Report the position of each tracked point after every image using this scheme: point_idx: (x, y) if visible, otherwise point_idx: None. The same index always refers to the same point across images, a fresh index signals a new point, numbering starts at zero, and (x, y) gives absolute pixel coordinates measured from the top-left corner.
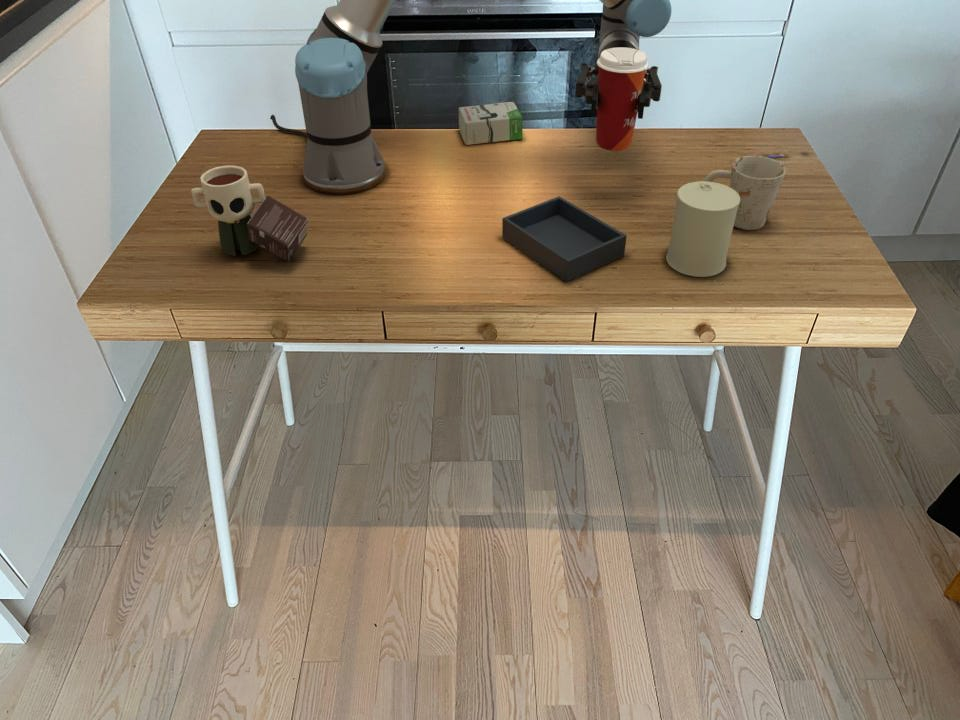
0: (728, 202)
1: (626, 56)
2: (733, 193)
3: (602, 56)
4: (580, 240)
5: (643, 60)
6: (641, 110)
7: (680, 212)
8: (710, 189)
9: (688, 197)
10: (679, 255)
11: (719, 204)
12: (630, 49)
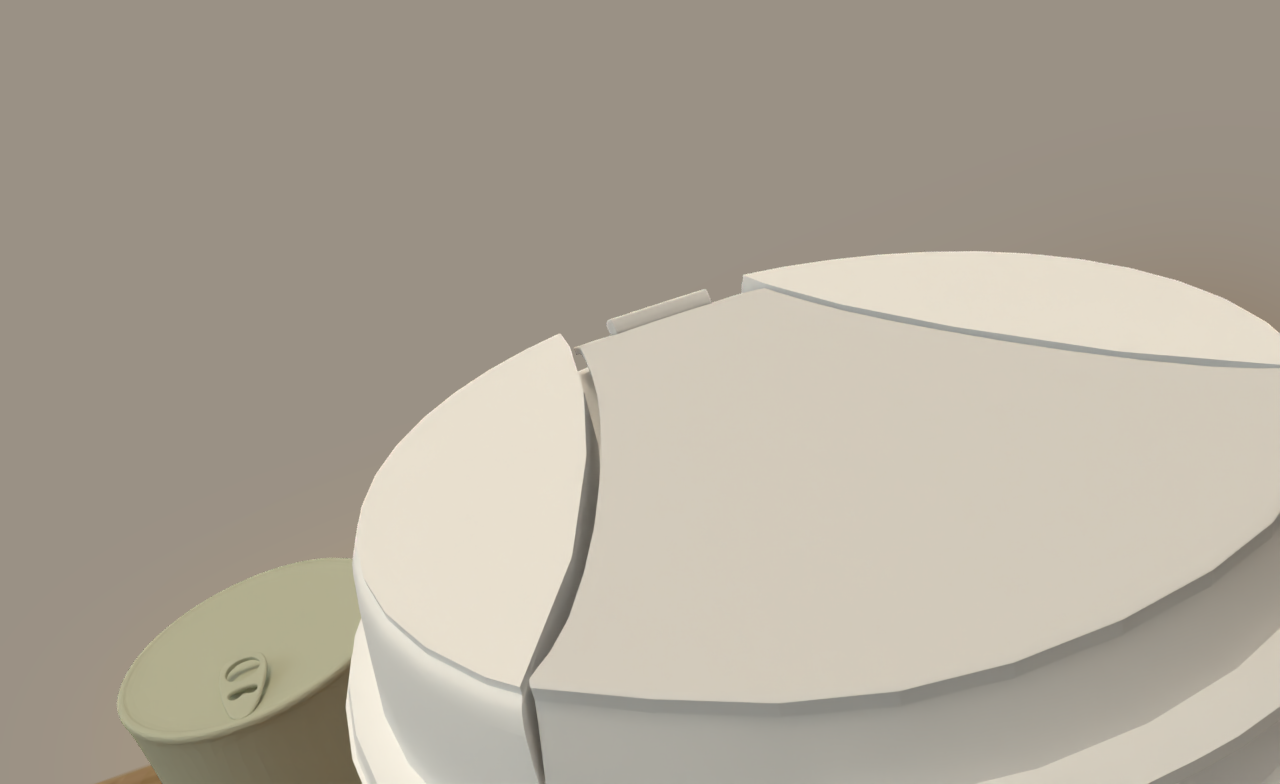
0: (194, 630)
1: (710, 374)
2: (138, 691)
3: (1061, 259)
4: None
5: (431, 417)
6: None
7: None
8: (231, 681)
9: (348, 599)
10: None
11: (237, 608)
12: (758, 617)
